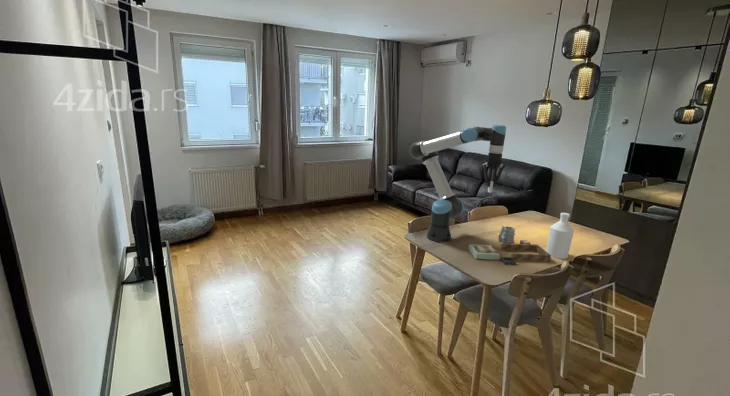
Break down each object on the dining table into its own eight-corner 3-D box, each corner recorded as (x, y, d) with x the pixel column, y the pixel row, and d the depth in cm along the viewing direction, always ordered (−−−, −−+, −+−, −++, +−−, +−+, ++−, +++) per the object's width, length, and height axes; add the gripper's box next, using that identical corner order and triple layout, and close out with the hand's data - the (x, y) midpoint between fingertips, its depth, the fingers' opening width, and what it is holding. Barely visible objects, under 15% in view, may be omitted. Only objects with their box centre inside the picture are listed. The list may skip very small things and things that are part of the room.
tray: (504, 264, 187) (504, 261, 186) (500, 259, 192) (500, 256, 192) (515, 264, 187) (515, 262, 187) (510, 259, 193) (511, 257, 192)
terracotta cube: (523, 249, 208) (524, 242, 207) (519, 246, 212) (520, 240, 211) (529, 248, 209) (530, 242, 208) (524, 245, 213) (525, 239, 212)
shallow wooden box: (511, 259, 192) (512, 254, 191) (500, 248, 207) (501, 243, 206) (549, 261, 193) (550, 255, 192) (536, 249, 207) (537, 244, 206)
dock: (475, 258, 192) (476, 253, 191) (468, 249, 204) (468, 244, 203) (499, 259, 192) (500, 254, 191) (490, 249, 204) (491, 245, 204)
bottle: (573, 257, 198) (582, 216, 192) (556, 259, 195) (565, 217, 188) (556, 249, 209) (565, 210, 203) (540, 251, 206) (548, 211, 199)
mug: (516, 244, 214) (519, 226, 211) (502, 247, 209) (505, 228, 206) (506, 239, 221) (509, 222, 218) (493, 242, 216) (495, 224, 212)
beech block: (480, 256, 195) (481, 250, 194) (476, 252, 201) (477, 245, 200) (494, 256, 196) (495, 250, 195) (489, 252, 201) (490, 246, 200)
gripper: (504, 152, 203) (498, 190, 210) (482, 151, 203) (476, 190, 209) (509, 153, 196) (503, 194, 202) (486, 153, 196) (481, 193, 202)
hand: (489, 192), depth 206 cm, fingers closed
